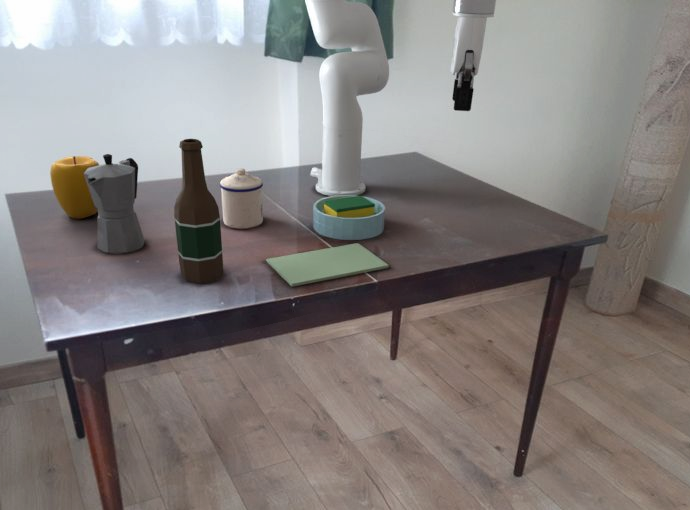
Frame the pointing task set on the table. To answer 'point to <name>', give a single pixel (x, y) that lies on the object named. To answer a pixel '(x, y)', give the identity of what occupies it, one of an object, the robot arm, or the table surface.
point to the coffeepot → (115, 205)
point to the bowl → (348, 222)
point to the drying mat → (325, 264)
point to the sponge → (349, 207)
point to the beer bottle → (197, 220)
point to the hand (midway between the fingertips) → (461, 105)
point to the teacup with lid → (242, 200)
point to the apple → (73, 186)
